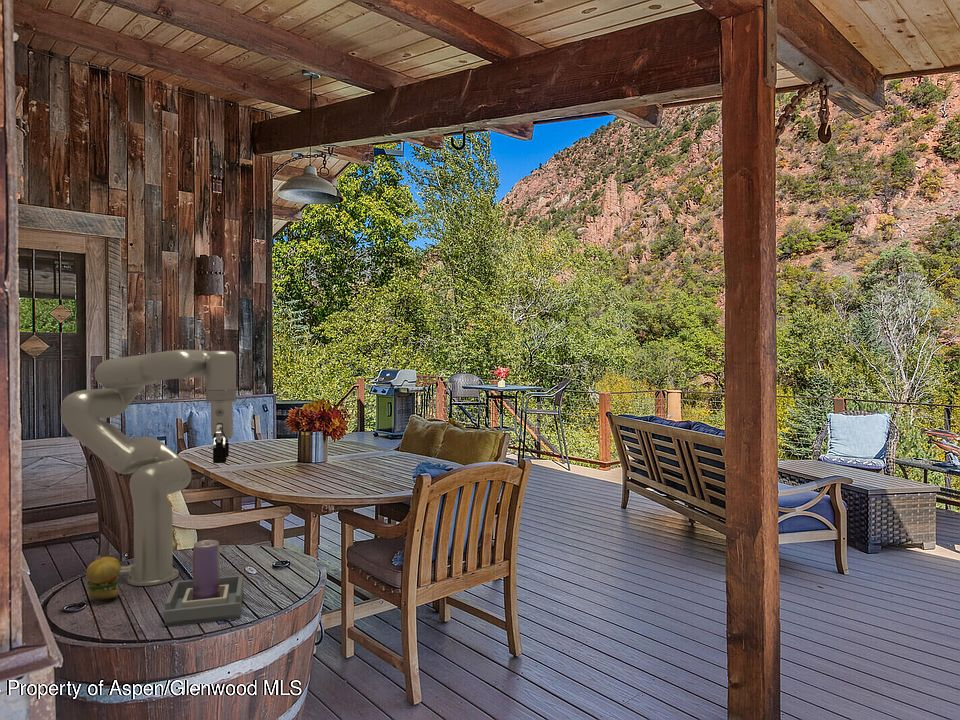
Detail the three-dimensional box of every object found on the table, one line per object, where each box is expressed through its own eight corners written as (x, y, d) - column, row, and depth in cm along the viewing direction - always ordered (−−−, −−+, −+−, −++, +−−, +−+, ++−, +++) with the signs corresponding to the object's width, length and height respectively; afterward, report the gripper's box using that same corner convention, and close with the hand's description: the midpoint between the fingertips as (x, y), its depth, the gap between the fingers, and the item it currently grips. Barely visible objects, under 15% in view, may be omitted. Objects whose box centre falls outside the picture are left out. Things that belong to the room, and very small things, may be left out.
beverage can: (209, 610, 151) (209, 547, 151) (187, 608, 152) (187, 545, 152) (224, 601, 156) (224, 540, 157) (202, 599, 158) (203, 539, 158)
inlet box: (164, 627, 144) (164, 604, 144) (174, 601, 159) (174, 581, 159) (240, 618, 149) (240, 596, 149) (243, 594, 164) (243, 574, 164)
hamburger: (126, 595, 164) (126, 548, 164) (113, 605, 156) (113, 556, 156) (94, 596, 163) (94, 549, 163) (79, 607, 156) (79, 557, 156)
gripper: (234, 398, 165) (234, 464, 165) (237, 394, 181) (237, 454, 181) (202, 398, 162) (202, 465, 162) (209, 395, 179) (209, 456, 179)
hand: (221, 460), depth 172 cm, fingers open, 9 cm apart
